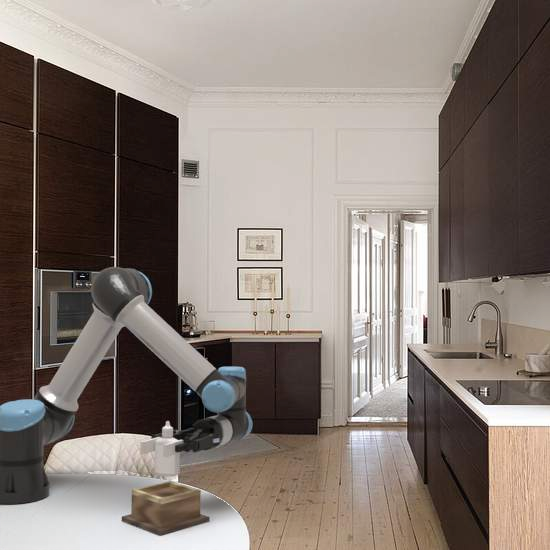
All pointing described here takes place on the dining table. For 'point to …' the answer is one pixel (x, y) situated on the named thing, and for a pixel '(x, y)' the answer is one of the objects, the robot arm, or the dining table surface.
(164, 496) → the display pedestal
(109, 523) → the dining table surface
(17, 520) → the dining table surface
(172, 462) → the eye dropper bottle
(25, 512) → the dining table surface
